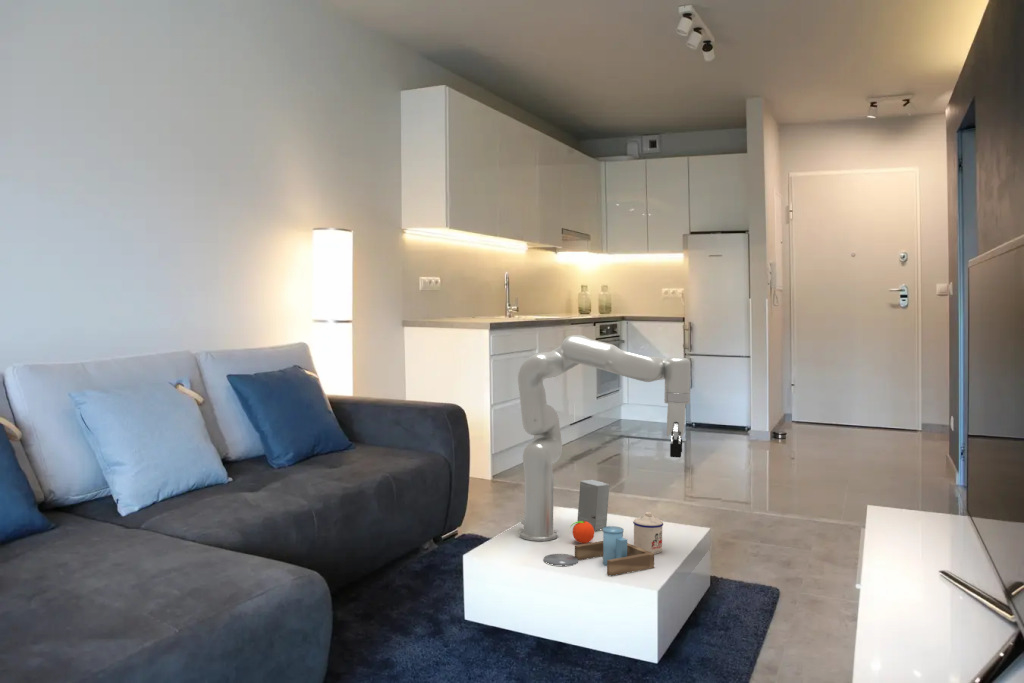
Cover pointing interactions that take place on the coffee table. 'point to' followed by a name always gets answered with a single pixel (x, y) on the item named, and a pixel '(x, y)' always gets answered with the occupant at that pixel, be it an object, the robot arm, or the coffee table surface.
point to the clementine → (583, 532)
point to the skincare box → (593, 503)
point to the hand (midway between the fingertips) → (676, 454)
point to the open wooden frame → (632, 562)
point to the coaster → (561, 559)
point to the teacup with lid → (648, 533)
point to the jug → (613, 543)
